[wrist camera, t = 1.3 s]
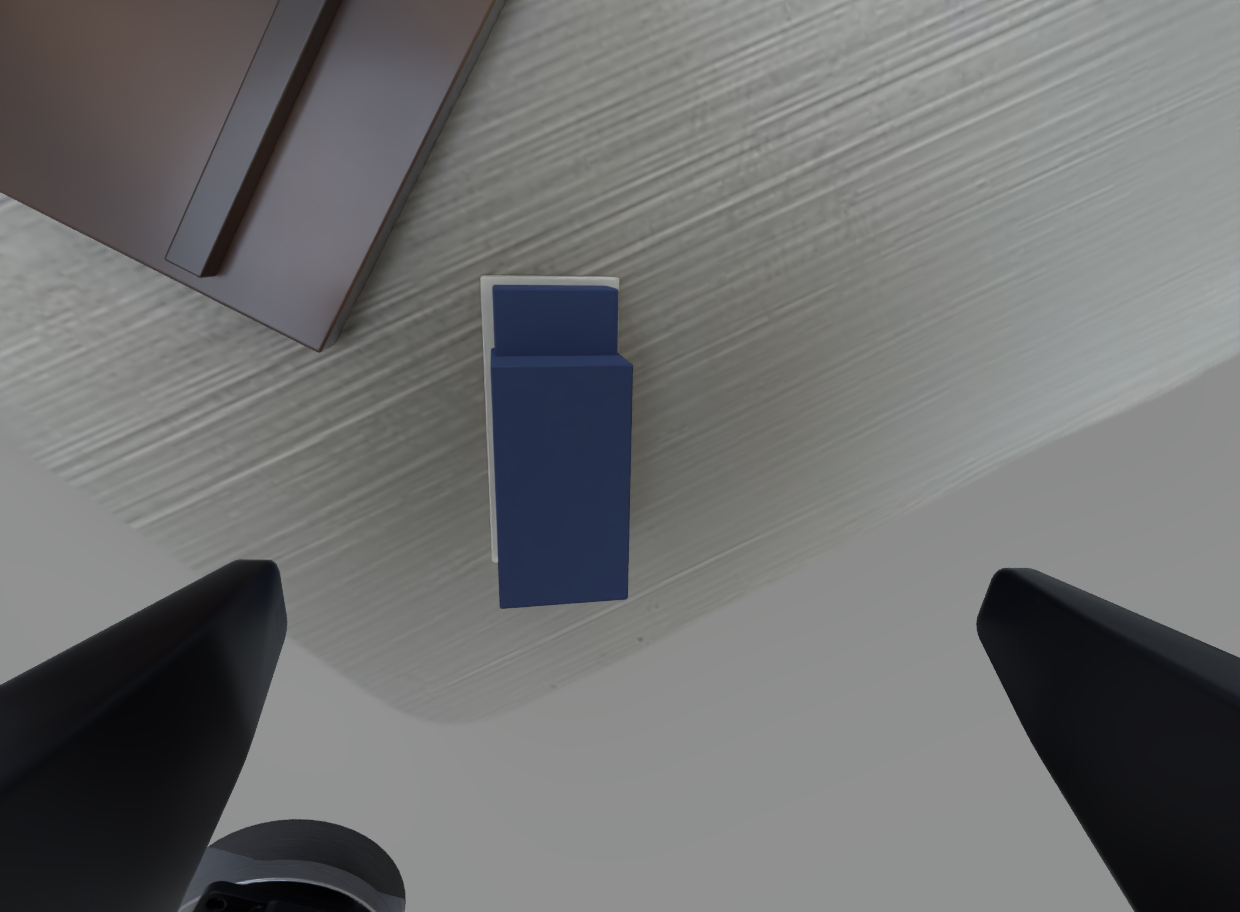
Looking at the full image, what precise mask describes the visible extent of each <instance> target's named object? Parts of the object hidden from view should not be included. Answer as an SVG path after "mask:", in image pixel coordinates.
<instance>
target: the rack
mask: <svg viewBox="0 0 1240 912" xmlns="http://www.w3.org/2000/svg"><path fill="white" fill-rule="evenodd" d="M505 2H506V0H0V192H1V193H3V194H5V195H7V196H9V197H11V198H13V199H15V200H17V201H19V202H21V203H23V204H25V205H27V206H29V207H31V208H33V209H35V210H37V211H39V212H41V213H43V214H45V215H47V216H48V217H50V218H52V219H54V220H56V221H58V222H60V223H62V224H64V225H66V226H68V227H70V228H72V229H74V230H76V231H78V232H80V233H82V234H84V235H86V236H88V237H90V238H92V239H94V240H96V241H98V242H100V243H102V244H104V245H106V246H108V247H110V248H112V249H114V250H116V251H118V252H120V253H122V254H124V255H126V256H128V257H130V258H132V259H134V260H136V261H138V262H140V263H142V264H144V265H146V266H148V267H150V268H152V269H153V270H155V271H157V272H159V273H161V274H163V275H165V276H167V277H169V278H171V279H173V280H175V281H177V282H179V283H181V284H183V285H185V286H187V287H189V288H191V289H193V290H195V291H197V292H199V293H201V294H203V295H205V296H207V297H209V298H211V299H213V300H215V301H217V302H219V303H221V304H223V305H225V306H227V307H229V308H231V309H233V310H235V311H237V312H239V313H241V314H243V315H245V316H247V317H249V318H251V319H253V320H255V321H257V322H259V323H260V324H262V325H264V326H266V327H268V328H270V329H272V330H274V331H276V332H278V333H280V334H282V335H284V336H286V337H288V338H290V339H292V340H294V341H296V342H298V343H300V344H302V345H304V346H306V347H308V348H310V349H312V350H314V351H316V352H322V351H324V350H325V349H327V348H329V347H331V346H332V345H334V343H335V341H336V339H337V337H338V335H339V333H340V331H341V329H342V327H343V325H344V323H345V321H346V319H347V317H348V315H349V313H350V311H351V309H352V307H353V305H354V303H355V301H356V299H357V297H358V295H359V293H360V291H361V289H362V287H363V285H364V283H365V281H366V279H367V277H368V275H369V273H370V271H371V269H372V267H373V265H374V263H375V261H376V259H377V257H378V255H379V253H380V251H381V249H382V247H383V245H384V243H385V241H386V239H387V237H388V235H389V233H390V231H391V229H392V227H393V225H394V223H395V221H396V219H397V217H398V215H399V213H400V211H401V209H402V207H403V205H404V203H405V201H406V199H407V197H408V195H409V193H410V192H411V190H412V188H413V186H414V184H415V182H416V180H417V178H418V176H419V174H420V172H421V170H422V168H423V166H424V164H425V162H426V160H427V158H428V156H429V154H430V152H431V150H432V148H433V146H434V144H435V142H436V140H437V138H438V136H439V134H440V132H441V130H442V128H443V126H444V124H445V122H446V120H447V118H448V116H449V114H450V112H451V110H452V108H453V106H454V104H455V102H456V100H457V98H458V96H459V94H460V92H461V90H462V88H463V86H464V84H465V82H466V80H467V78H468V76H469V74H470V72H471V70H472V68H473V66H474V64H475V62H476V60H477V58H478V56H479V54H480V52H481V50H482V48H483V46H484V44H485V42H486V40H487V38H488V36H489V34H490V32H491V30H492V28H493V26H494V24H495V22H496V20H497V18H498V16H499V14H500V12H501V10H502V8H503V6H504V4H505Z"/></svg>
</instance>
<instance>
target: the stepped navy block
mask: <svg viewBox="0 0 1240 912" xmlns="http://www.w3.org/2000/svg"><path fill="white" fill-rule="evenodd" d="M480 289H481V313H482V336H483V360H484V384H485V407H486V431H487V454H488V478H489V502H490V525H491V549H492V562H493V563H498V572H499V597H500V608H501V609H505V608H518V607H531V606H545V605H558V604H571V603H584V602H598V601H611V600H624V599H627V598H628V564H629V519H630V474H631V429H632V384H633V365H632V364H631V363H630V362H629V361H627V360H626V359H625V358H624V357H622V356H621V355H620V354H619V353H618V334H619V278H616V277H606V276H519V275H482V276H481V277H480Z"/></svg>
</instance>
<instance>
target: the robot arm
mask: <svg viewBox="0 0 1240 912" xmlns="http://www.w3.org/2000/svg"><path fill="white" fill-rule="evenodd" d="M976 625H977V632H978V636H979V638H980V641H981V643H982V644H983V647H984V649H985V651H986V653H987V655H988V657H989V659H990V661H991V663H992V665H993V667H994V669H995V671H996V673H997V675H998V677H999V679H1000V681H1001V683H1002V685H1003V687H1004V689H1005V691H1006V693H1007V695H1008V697H1009V699H1010V701H1011V703H1012V705H1013V707H1014V710H1015V712H1016V714H1017V716H1018V717H1019V719H1020V722H1021V724H1022V725H1023V728H1024V729H1025V731H1026V733H1027V735H1028V737H1029V739H1030V741H1031V743H1032V744H1033V746H1034V747H1035V750H1036V751H1037V753H1038V755H1039V756H1040V758H1041V760H1042V762H1043V763H1044V765H1045V766H1046V768H1047V770H1048V771H1049V773H1050V774H1051V776H1052V778H1053V780H1054V781H1055V783H1056V784H1057V786H1058V788H1059V789H1060V791H1061V793H1062V794H1063V796H1064V798H1065V799H1066V801H1067V802H1068V804H1069V806H1070V807H1071V809H1072V811H1073V812H1074V814H1075V816H1076V817H1077V819H1078V820H1079V822H1080V824H1081V825H1082V827H1083V829H1084V830H1085V832H1086V833H1087V835H1088V837H1089V838H1090V840H1091V842H1092V843H1093V845H1094V847H1095V848H1096V850H1097V852H1098V853H1099V855H1100V856H1101V858H1102V860H1103V861H1104V863H1105V865H1106V866H1107V868H1108V870H1109V871H1110V873H1111V874H1112V876H1113V878H1114V879H1115V881H1116V883H1117V884H1118V886H1119V887H1120V889H1121V891H1122V892H1123V894H1124V896H1125V897H1126V899H1127V900H1128V902H1129V904H1130V905H1131V907H1132V909H1133V910H1134V912H1240V658H1239V657H1237V656H1234V655H1232V654H1230V653H1227V652H1225V651H1223V650H1220V649H1218V648H1216V647H1213V646H1211V645H1209V644H1206V643H1204V642H1202V641H1199V640H1197V639H1195V638H1192V637H1190V636H1188V635H1186V634H1183V633H1181V632H1179V631H1176V630H1174V629H1172V628H1169V627H1167V626H1165V625H1162V624H1160V623H1157V622H1155V621H1153V620H1151V619H1148V618H1146V617H1144V616H1141V615H1139V614H1137V613H1134V612H1132V611H1130V610H1127V609H1125V608H1123V607H1120V606H1118V605H1116V604H1114V603H1111V602H1109V601H1107V600H1104V599H1102V598H1100V597H1097V596H1095V595H1093V594H1090V593H1088V592H1086V591H1083V590H1081V589H1079V588H1076V587H1074V586H1072V585H1069V584H1067V583H1065V582H1062V581H1060V580H1058V579H1055V578H1053V577H1051V576H1048V575H1046V574H1044V573H1042V572H1039V571H1037V570H1034V569H1030V568H1003V569H1001V570H998V571H997V572H996V573H995V574H994V576H993V578H992V579H991V582H990V585H989V588H988V590H987V593H986V595H985V598H984V600H983V603H982V606H981V608H980V611H979V614H978V617H977V623H976ZM286 631H287V614H286V608H285V602H284V596H283V589H282V583H281V577H280V572H279V569H278V567H277V564H276V563H274V562H273V561H272V560H245V559H240V560H235V561H233V562H231V563H229V564H227V565H225V566H223V567H221V568H219V569H218V570H216V571H214V572H212V573H210V574H208V575H206V576H204V577H203V578H201V579H199V580H197V581H195V582H194V583H191V584H190V585H188V586H186V587H184V588H182V589H180V590H178V591H176V592H174V593H173V594H171V595H169V596H167V597H165V598H163V599H161V600H159V601H157V602H156V603H154V604H152V605H150V606H148V607H146V608H144V609H142V610H141V611H139V612H137V613H135V614H133V615H131V616H129V617H127V618H126V619H124V620H122V621H120V622H118V623H116V624H114V625H112V626H110V627H109V628H107V629H105V630H103V631H101V632H99V633H97V634H95V635H94V636H92V637H90V638H88V639H86V640H84V641H82V642H81V643H79V644H77V645H75V646H73V647H71V648H69V649H67V650H65V651H63V652H62V653H60V654H58V655H56V656H54V657H52V658H50V659H48V660H47V661H45V662H43V663H41V664H39V665H37V666H35V667H33V668H32V669H30V670H28V671H26V672H24V673H22V674H20V675H18V676H17V677H15V678H13V679H11V680H9V681H7V682H5V683H3V684H2V685H0V912H178V910H179V908H180V906H181V904H182V902H183V899H184V897H185V895H186V893H187V890H188V888H189V886H190V884H191V882H192V879H193V877H194V875H195V873H196V870H197V868H198V866H199V864H200V862H201V859H202V857H203V855H204V853H205V850H206V848H207V846H208V844H209V842H210V839H211V837H212V835H213V833H214V830H215V828H216V826H217V824H218V821H219V819H220V817H221V815H222V813H223V810H224V808H225V806H226V804H227V801H228V799H229V797H230V795H231V793H232V790H233V788H234V786H235V783H236V782H237V779H238V777H239V774H240V772H241V770H242V767H243V765H244V762H245V760H246V757H247V754H248V752H249V749H250V746H251V743H252V740H253V737H254V734H255V731H256V728H257V724H258V721H259V718H260V715H261V711H262V709H263V706H264V703H265V699H266V696H267V693H268V690H269V687H270V683H271V680H272V678H273V674H274V671H275V668H276V665H277V662H278V659H279V655H280V652H281V649H282V646H283V643H284V640H285V636H286ZM216 898H219V899H216ZM192 912H346V911H342V910H339V909H335V908H331V907H327V906H323V905H319V904H315V903H311V902H307V901H303V900H299V899H295V898H291V897H287V896H283V895H279V894H276V893H272V892H268V891H264V890H260V889H256V888H252V887H248V886H244V885H240V884H236V883H232V882H228V881H215V882H212V883H211V884H209V885H207V887H206V888H205V889H204V891H203V892H202V894H201V896H200V898H199V900H198V902H197V903H196V905H195V907H194V909H193V911H192Z"/></svg>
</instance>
